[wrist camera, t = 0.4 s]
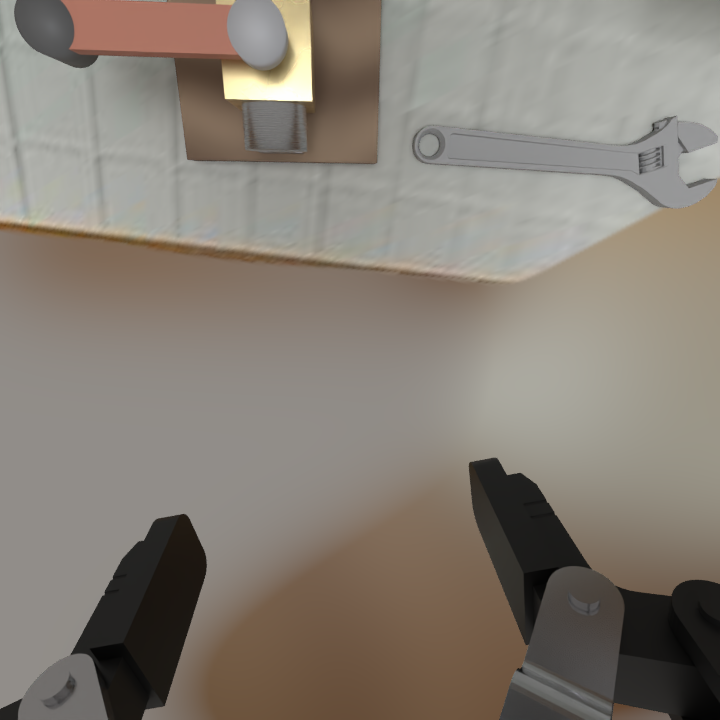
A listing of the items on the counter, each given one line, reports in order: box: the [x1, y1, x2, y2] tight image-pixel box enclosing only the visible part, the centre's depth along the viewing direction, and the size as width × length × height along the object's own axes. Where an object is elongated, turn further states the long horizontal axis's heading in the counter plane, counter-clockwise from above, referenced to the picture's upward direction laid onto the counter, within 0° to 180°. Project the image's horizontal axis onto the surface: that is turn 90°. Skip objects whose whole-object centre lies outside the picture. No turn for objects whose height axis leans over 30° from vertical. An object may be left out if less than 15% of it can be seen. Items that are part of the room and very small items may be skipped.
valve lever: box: [14, 0, 288, 71], centre depth 22 cm, size 3×13×3 cm, turn 89°
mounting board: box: [167, 0, 381, 164], centre depth 31 cm, size 11×14×2 cm
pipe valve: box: [216, 0, 315, 154], centre depth 26 cm, size 10×5×8 cm, turn 179°
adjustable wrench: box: [413, 116, 718, 208], centre depth 34 cm, size 25×6×2 cm, turn 81°
